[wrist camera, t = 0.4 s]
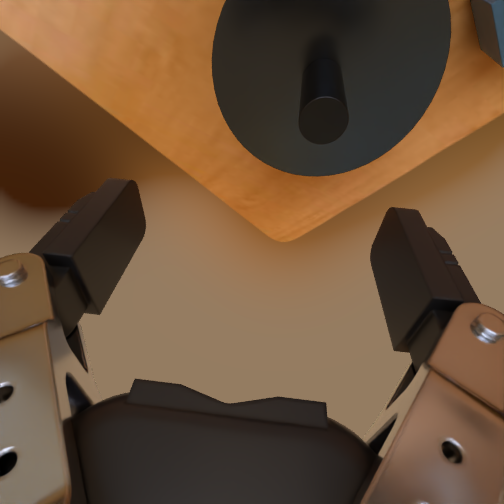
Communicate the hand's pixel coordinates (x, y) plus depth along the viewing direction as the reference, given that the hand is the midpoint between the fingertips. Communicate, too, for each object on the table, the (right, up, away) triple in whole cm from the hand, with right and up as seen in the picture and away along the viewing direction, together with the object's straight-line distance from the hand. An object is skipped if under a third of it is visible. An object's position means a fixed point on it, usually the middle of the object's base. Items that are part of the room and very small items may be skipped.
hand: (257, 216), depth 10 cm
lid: (+4, +10, +9) cm, 14 cm away
